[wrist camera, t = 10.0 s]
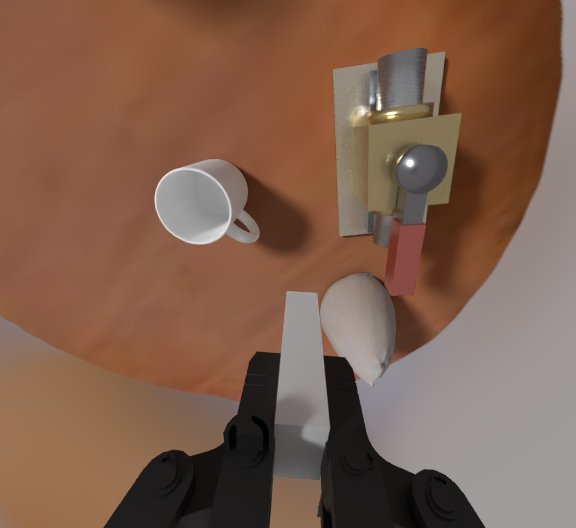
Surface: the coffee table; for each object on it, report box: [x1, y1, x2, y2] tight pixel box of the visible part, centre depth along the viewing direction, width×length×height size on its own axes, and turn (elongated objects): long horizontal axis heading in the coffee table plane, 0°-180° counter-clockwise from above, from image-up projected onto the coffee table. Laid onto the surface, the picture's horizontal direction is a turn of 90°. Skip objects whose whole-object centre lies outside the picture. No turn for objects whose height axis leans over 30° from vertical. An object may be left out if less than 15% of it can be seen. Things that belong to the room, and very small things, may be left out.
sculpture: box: [320, 273, 396, 387], centre depth 38 cm, size 13×12×15 cm
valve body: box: [332, 48, 462, 248], centre depth 30 cm, size 20×12×10 cm, turn 7°
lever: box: [384, 144, 448, 296], centre depth 26 cm, size 15×4×3 cm, turn 3°
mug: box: [155, 159, 260, 244], centre depth 33 cm, size 12×8×10 cm
